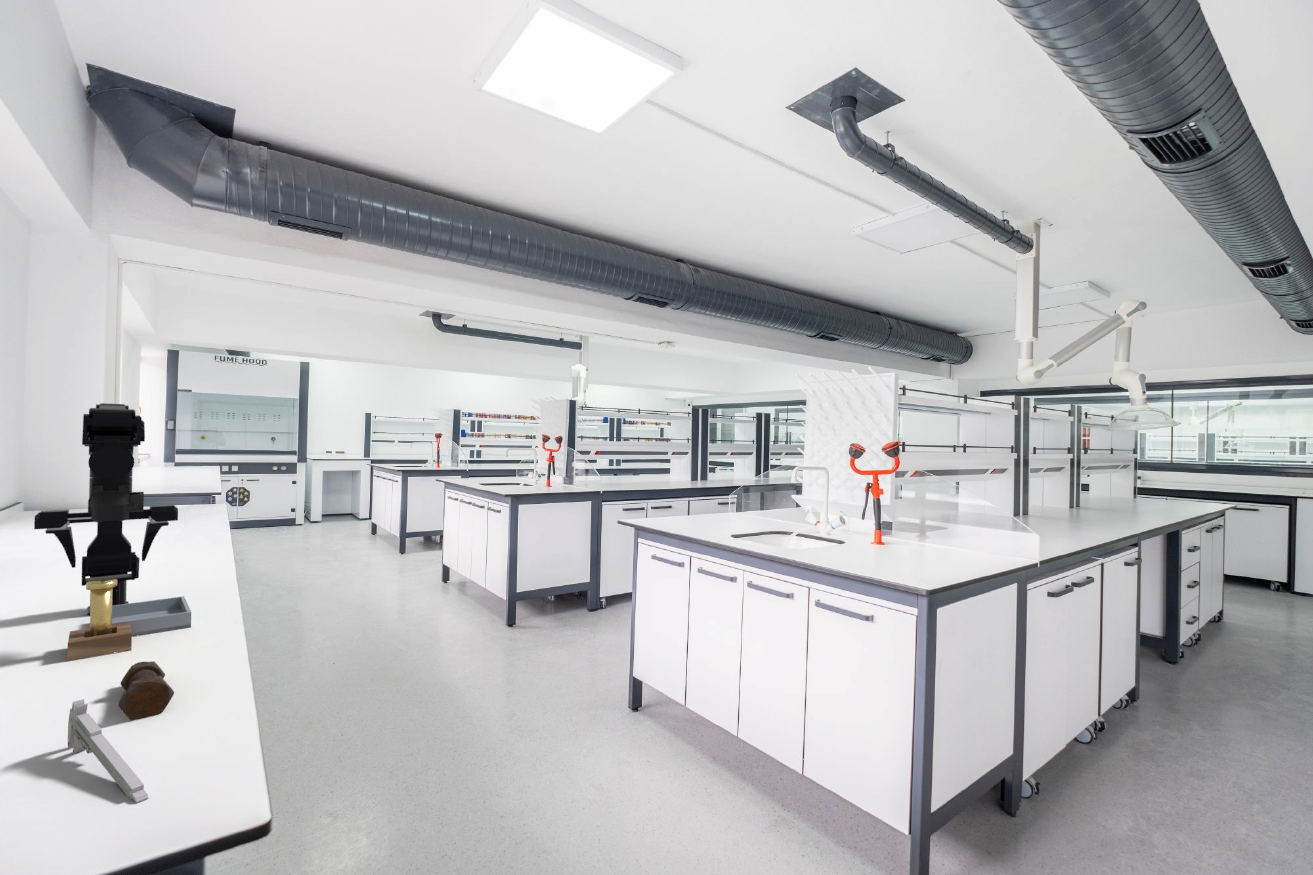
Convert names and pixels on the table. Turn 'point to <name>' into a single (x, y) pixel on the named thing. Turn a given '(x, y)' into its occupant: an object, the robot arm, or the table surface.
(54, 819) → the table surface
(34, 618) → the table surface
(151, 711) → the bolt
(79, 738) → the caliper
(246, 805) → the table surface
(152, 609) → the tray
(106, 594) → the pin
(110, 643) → the block
